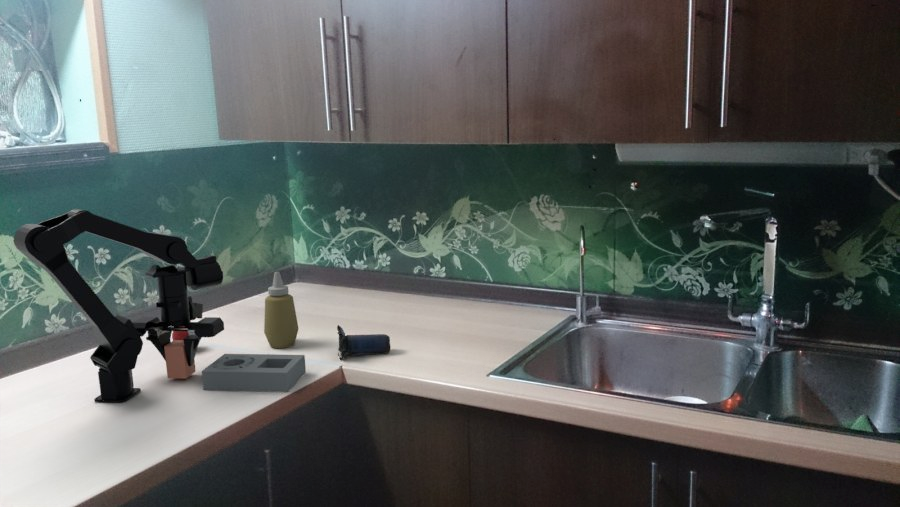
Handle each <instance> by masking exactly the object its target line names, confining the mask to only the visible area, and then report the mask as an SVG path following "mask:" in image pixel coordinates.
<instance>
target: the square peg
mask: <svg viewBox="0 0 900 507" xmlns="http://www.w3.org/2000/svg"><path fill="white" fill-rule="evenodd" d="M164 349H165V358H166V361H165V366H166V367H165V368H166V375H167V379H188V378H189V377H190V376H192V375H193V374H194V373H196V371H197V370H196V364H195V359H194V362H193V365H192V366H189V365H188V362H187V358H186V352H185V346H184V340H174V341H173V340H172V341H171V342H170V343H169V344H167V345H166V346H164Z"/></svg>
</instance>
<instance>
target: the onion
mask: <svg viewBox="0 0 900 507" xmlns="http://www.w3.org/2000/svg"><path fill="white" fill-rule="evenodd" d="M181 327H185V326H181ZM187 336H188V331H172V333H171V338H172V341H174V340H183V339H184V338H185V337H187Z"/></svg>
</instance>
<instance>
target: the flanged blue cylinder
mask: <svg viewBox="0 0 900 507" xmlns="http://www.w3.org/2000/svg"><path fill="white" fill-rule="evenodd" d="M336 329H337V331H338V332H337V335H338V348H337V349H338V352H337V357H338V356H339V357H338V359H340V360H342V361H345V358H346V355H347V354H348V355H351V356H352V355H363V354H364V355H377V354H376V353H381V354H383V353H384V354H387V353H390V352H391V349H392V348H391V339H390V335H388V334H385V333H384V334H383V333H380V334H379V333H378V334H377V333H376V334H375V333H374V334H373V333H372V334H347V335H346V333H345V331H344V329H343V327H341V326H340V325H339V324H338V325H337V327H336ZM339 352H340V353H339ZM386 352H387V353H386Z"/></svg>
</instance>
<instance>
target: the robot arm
mask: <svg viewBox="0 0 900 507" xmlns="http://www.w3.org/2000/svg"><path fill="white" fill-rule="evenodd" d="M83 233H88V234H91V235H94V236H97V237H100V238H103V239H107V240H110V241H113V242H117V243H119V244H122V245H125V246H128V247H131V248H134V249H136V250H138V252H141V253H142V254H144V255H146V256H147V257H149V258H151V259H154V260H155V261H157V262H162V263H166V264H169V265H163V266H160V265H159V264H154V263H153V264H151V267H150V268H149V269H148V270H147V271H146V273H145V276H147V277H150V278H153V279H156V282H157V293H158V301H156V303H155V304H156V308H159V310H160V318H161V319H160V318H159V317H158V316H142V317H140V318H137V319H135V320H134V321H133V322H132V320H131V319H130V318H127V317H125V316H123V315H120V314H116V315H113V313H112V312H111V311H110V310H109V309H108V307H107V306H106V305H105V303H104V302H103V301H102V300H101V299H100V297H99V296H98V295H97V294H96V292H95V291H94V290H93V289H92V287H91V286H90V285H89V284H88V283H87V281H86V280H85V279H84V278H83V277H82V275H81V274H80V273H79V271H77V269H76V268H75V267H74V266H73V264H72V263H71V261H70V259H69V257H68V253H67V250H66V248H65V246H64V245H65V244H67V243H69V242H71V241H72V240H74V239H75V238H76V237H78V236H79V235H82V234H83ZM13 236H14V237H13V244H14V246H15V248H16V249H17V250H18V251H19V252H20V253H21V254H23V255H24V256H25V257H26V258H27V259H29V260H30V261H31V262H33V263H34V264H36V265H37V266H38V267H40V268H41V269H43V270H44V271H45V272H46V273H47V274H48V275H49V276H50V278H52V280H53V281H54V282H55V283H56V284H57V286H58V287H59V288H60V289H61V290H62V291H63V293H65V295H66V296H67V298H68V299H69V301H71V302H72V303H73V305H74V306H75V307H76V308H77V309H78V311H79V312H80V313H81V314H82V315H83V317H84V318H85V319H86V320H87V321H88V322H89V323H90V325H91V326H92V328H93V333H94V335H95V338H96V340H97V341H98V344H99V345H97V347H96V349H95V350H94V351H93V353H92V354H91V355H90V358H89V359H90V360H91V362H92V363H93V365H94V366H95V367H98V371H97V374H98V384H99V391H100V394H99V395H98V396H97V397H95V398H94V402H102V403H105V402H106V403H125V402H126V401H128V400H129V399H131V398H132V397H133V396H135V395H136V394H138V393H139V392H141V391H142V390H141V388H140V387H134V378H133V370H134V369H135V368H136V364H137V361H138V356H139V355H140V354H141V352H142V350H143V345H144V342H143V339H142V337H144V336H145V335H146V334H147V336H146V337H145V340H146V341H150V343H151V344H152V345H153V346H154V347H155V348H156V350H157V351H158V353H159V354H160V355H161V357H162V358H163V360H164V361H165V362H166V358H165V349H164V346H166V345H167V344H169V343H170V342H172V341H171V338H172V333H173V331H188V336H187V337H185V338H184V339H183V340H184V346H185V352H186V358H187V362H188V365H189V366H192V365H193V362H194V360H195V358H196V354H197V350H198V347H199V344H200V342H201V339H202V338H213V337H215V336H217V335H218V334H220V333H222V332H223V331H225V323H224V320H223V319H222V318H221V317H215V316H214V317H210V316H209V317H208V316H207V317H204V318H203V314H204V313H203V311H204V310H203V309H204V303H198V302H193V298H192V295H189V292H188V287H190V288H191V289H192V291H198V290H203V289H208V288H212V287H217V286H221V285H222V283H223V281H224V271H223V270H222V268H221V265H220V263H219V262H218V261H217V256H216V255H213V254H207V255H205V256H202V257H197V258H196V257H195V256H194V255H193V254H192V253H191V252H190V251H189V250H188V245H187V243H186V241H185V239H183V238H181V237H179V236H175V235H170V234H166V233H165V234H164V233H158V232H150V231H144V230H142V229H139V228H135V227H132V226H130V225H126V224H123V223H121V222H117V221H114V220H113V219H109V218H106V217H103V216H100V215H97V214H94V213H92V212H91V211H89V210H85V209H79V208H73V209H71V210H70V211H68V212H65V213H64V214H60V215H58V216H54V217H52V218H49V219H46V220H45V219H44V220H43V221H41V222H38V223H37V224H36V223H26V224H23V225H21V226H20V227H19V228H17V229H16V231H15V233H14V235H13ZM175 265H181V267H176V266H175ZM197 319H199V320H198V321H195V320H197ZM181 326H185V327H181Z"/></svg>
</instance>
